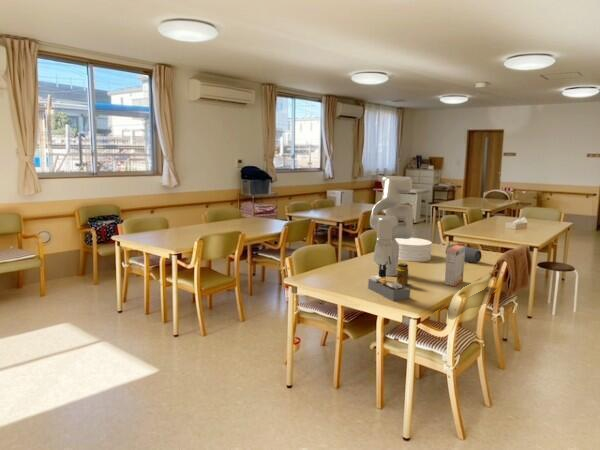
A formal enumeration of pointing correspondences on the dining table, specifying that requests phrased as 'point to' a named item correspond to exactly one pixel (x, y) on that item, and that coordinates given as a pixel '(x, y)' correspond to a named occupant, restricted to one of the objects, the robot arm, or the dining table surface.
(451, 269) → the cracker box
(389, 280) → the outlet rocker
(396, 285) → the rocker outlet
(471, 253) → the bluetooth speaker
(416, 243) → the plate stack
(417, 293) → the dining table surface
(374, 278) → the outlet rocker
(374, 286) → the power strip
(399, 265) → the condiment
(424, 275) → the dining table surface
